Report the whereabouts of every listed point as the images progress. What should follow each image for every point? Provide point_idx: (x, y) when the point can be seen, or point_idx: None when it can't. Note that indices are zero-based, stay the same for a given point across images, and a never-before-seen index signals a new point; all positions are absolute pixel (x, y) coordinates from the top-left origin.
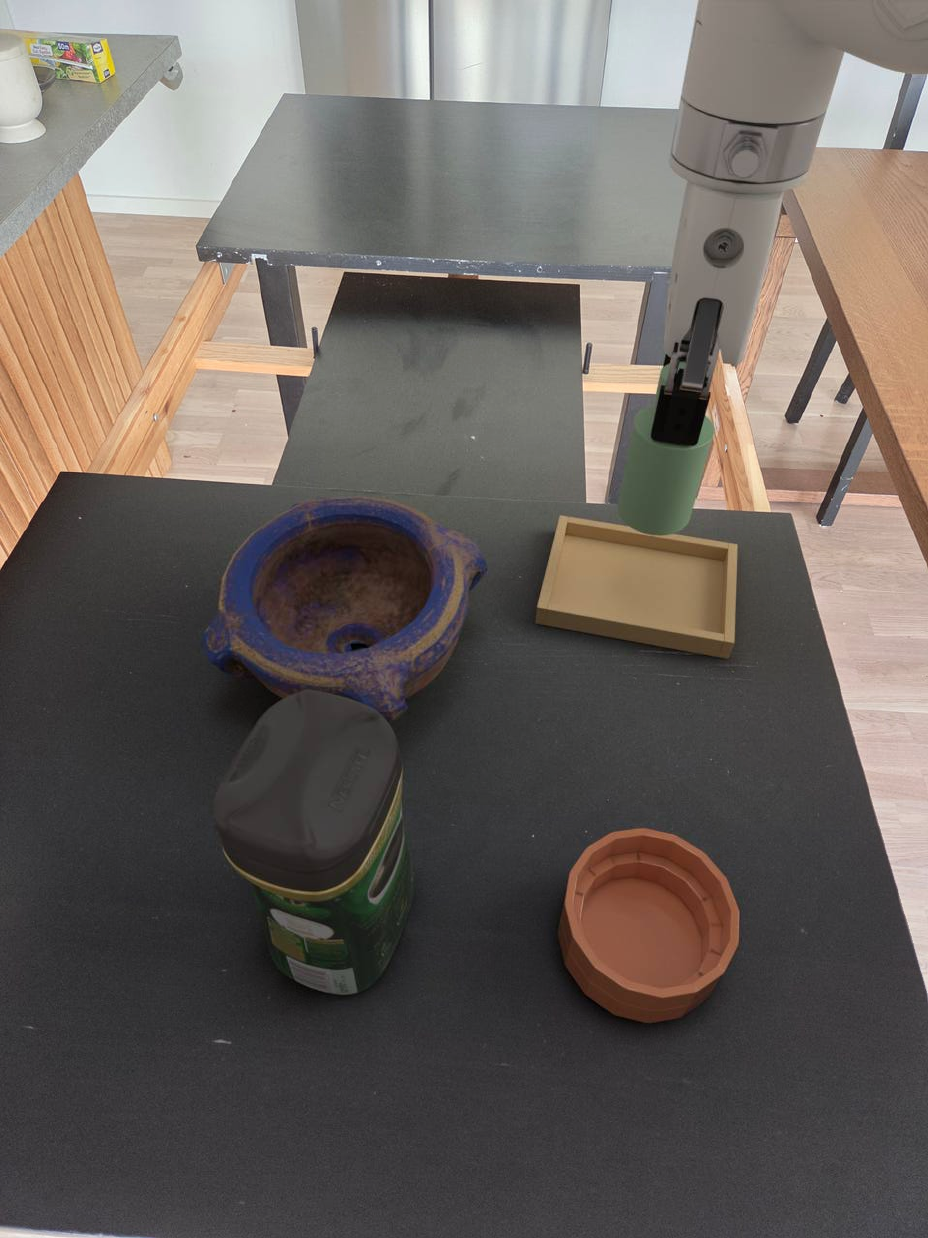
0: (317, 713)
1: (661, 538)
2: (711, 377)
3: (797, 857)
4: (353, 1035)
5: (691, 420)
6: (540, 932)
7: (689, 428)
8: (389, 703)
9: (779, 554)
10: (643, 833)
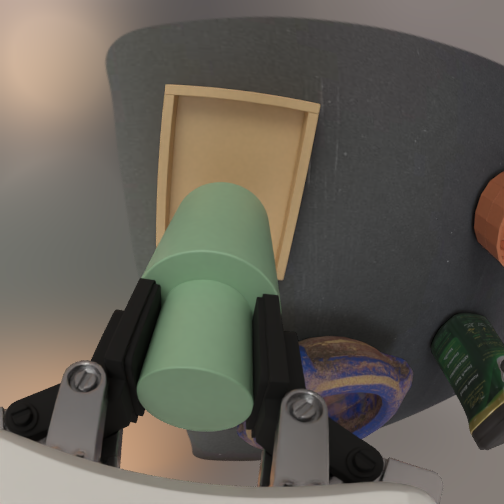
0: (502, 442)
1: (168, 166)
2: (326, 448)
3: (477, 104)
4: (493, 317)
5: (301, 361)
6: (487, 255)
7: (298, 346)
8: (412, 376)
9: (155, 37)
10: (501, 229)
